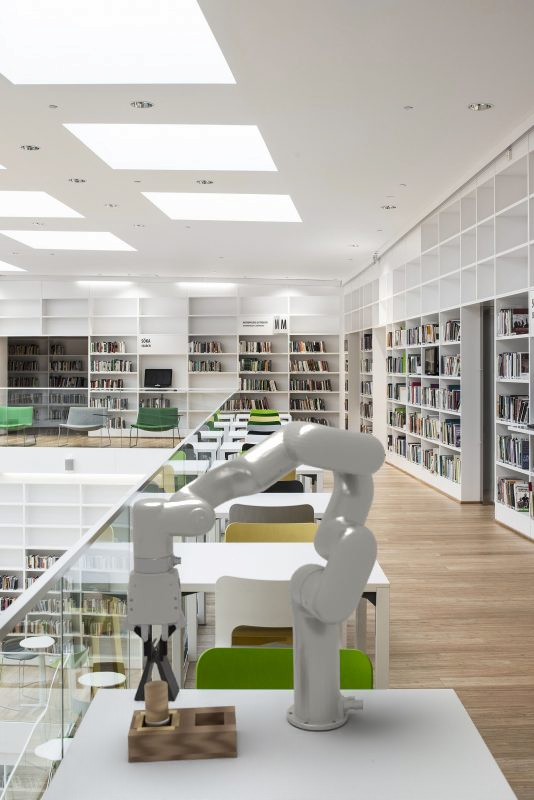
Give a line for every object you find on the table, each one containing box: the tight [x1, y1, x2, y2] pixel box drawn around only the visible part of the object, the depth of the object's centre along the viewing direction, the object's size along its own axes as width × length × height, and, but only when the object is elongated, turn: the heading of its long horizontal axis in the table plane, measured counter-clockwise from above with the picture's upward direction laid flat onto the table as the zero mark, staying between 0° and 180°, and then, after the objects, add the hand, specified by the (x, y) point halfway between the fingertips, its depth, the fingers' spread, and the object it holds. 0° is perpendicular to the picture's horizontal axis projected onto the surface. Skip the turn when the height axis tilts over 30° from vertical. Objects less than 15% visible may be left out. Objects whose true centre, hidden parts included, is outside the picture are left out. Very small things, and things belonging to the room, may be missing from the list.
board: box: [127, 705, 238, 763], centre depth 151 cm, size 20×11×5 cm, turn 94°
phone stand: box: [133, 637, 180, 702], centre depth 175 cm, size 9×6×12 cm, turn 86°
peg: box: [144, 679, 170, 727], centre depth 151 cm, size 4×4×11 cm
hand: (155, 658), depth 150 cm, fingers closed
